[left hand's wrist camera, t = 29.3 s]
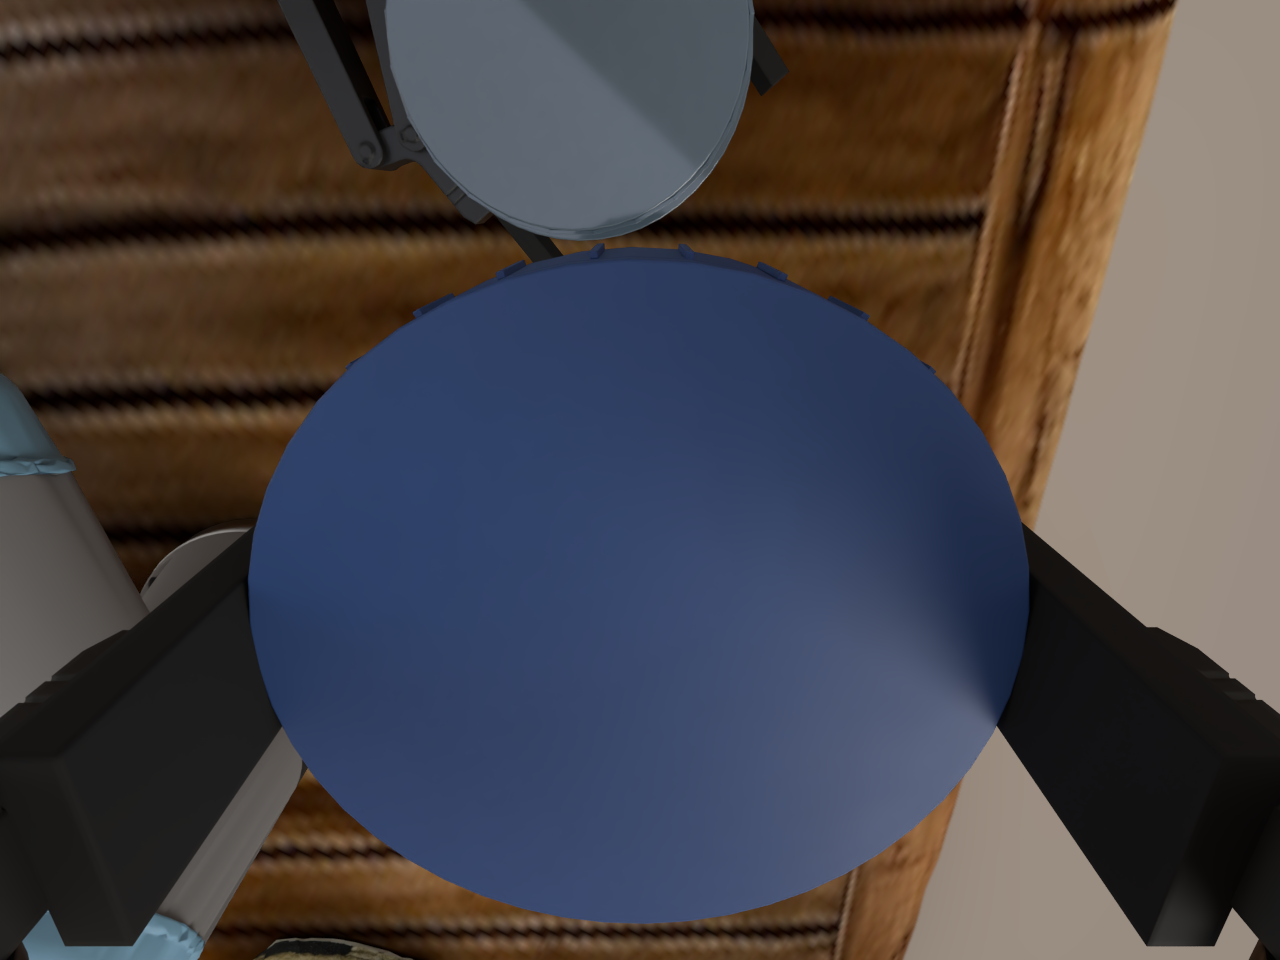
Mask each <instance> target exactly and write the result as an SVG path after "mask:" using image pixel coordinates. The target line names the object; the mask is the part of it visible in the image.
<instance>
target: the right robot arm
mask: <svg viewBox="0 0 1280 960" xmlns="http://www.w3.org/2000/svg"><path fill="white" fill-rule="evenodd" d="M277 1H278V3H279V5H280V7H281V9H282V11H283V13H284V15H285V18H286V20H287V22H288V24H289V26H290V28H291V30H292V32H293V34H294V36H295V38H296V40H297V42H298V44H299V46H300V49H301V51H302V53H303V55H304V57H305V59H306V61H307V63H308V65H309V67H310V69H311V71H312V73H313V75H314V77H315V80H316V82H317V84H318V86H319V88H320V90H321V92H322V94H323V96H324V98H325V100H326V102H327V104H328V106H329V108H330V110H331V113H332V115H333V117H334V119H335V121H336V123H337V125H338V127H339V129H340V131H341V133H342V135H343V137H344V139H345V141H346V144H347V146H348V148H349V150H350V152H351V154H352V156H353V158H354V159H355V161H356V162H357V163H358V164H359V165H360V166H362V167H364V168H368V169H376V170H386V171H393V170H397V169H398V168H399V167H400V166H402V165H405V164H408V163H410V162H414V161H415V162H417V163H419V164H420V165H421V166H422V167H423V168H424V170H425V171H426V172H427V173H428V174H429V176H430V177H431V178H432V179H433V180H434V182H435V183H436V184H437V185H438V187H439V188H440V189H441V190H442V191H443V193H444V194H445V195H446V196H447V197H448V199H449V200H450V201H451V202H452V204H454V206H455V207H456V208H457V210H458V211H459V212H460V213H461V214H462V216H463V217H464V218H466V219H468V220H469V221H471V222H473V223H475V224H481V223H484V222H485V221H486V220H488V219H489V218H490V217H491V216H492V215H493V213H491V212H490V211H489V210H487V209H486V208H484V207H483V206H481V205H480V204H479V203H477V202H476V201H474V200H473V199H471V198H469V197H468V196H467V195H466V194H465V193H464V192H463V191H462V190H461V189H460V188H459V187H458V186H457V185H456V184H455V183H454V182H453V181H452V180H451V179H450V178H449V177H448V176H447V175H446V174H445V173H444V171H443V170H442V169H441V168H440V167H439V166H438V165H437V164H436V163H435V162H434V160H433V159H432V157H431V156H430V154H429V152H428V151H427V149H426V147H425V146H424V144H423V143H422V141H421V139H420V138H419V136H418V134H417V133H416V131H415V130H414V128H413V126H412V125H411V123H410V121H409V120H408V118H407V114H406V111H405V108H404V105H403V102H402V100H401V97H400V94H399V91H398V88H397V85H396V82H395V79H394V76H393V73H392V70H391V68H390V56H389V48H388V40H387V30H386V21H385V12H384V9H385V6H386V0H366V5H367V9H368V13H369V18H370V22H371V26H372V31H373V35H374V39H375V44H376V48H377V52H378V57H379V61H380V65H381V70H382V74H383V78H384V83H385V87H386V92H387V96H388V100H389V105H390V109H391V113H392V118H393V122H394V125H392V126H391V125H390V123H389V121H388V119H387V116H386V114H385V112H384V110H383V108H382V106H381V103H380V101H379V99H378V97H377V95H376V93H375V90H374V88H373V86H372V84H371V82H370V79H369V77H368V75H367V73H366V71H365V69H364V66H363V64H362V62H361V60H360V58H359V55H358V53H357V51H356V49H355V47H354V45H353V42H352V40H351V38H350V36H349V34H348V31H347V29H346V27H345V25H344V23H343V21H342V18H341V16H340V14H339V12H338V10H337V8H336V5H335V3H334V1H333V0H277ZM788 72H789V71H788V69H787V67H786V66H785V64H784V62H783V61H782V59H781V58H780V56H779V54H778V53H777V51H776V50H775V48H774V46H773V45H772V43H771V41H770V40H769V38H768V37H767V35H766V33H765V32H764V30H763V29H762V27H761V25H760V24H759V22H758V21H757V19H756V17H755V16H754V21H753V59H752V68H751V76H750V79H751V81H752V82H753V84H754V86H755V87H756V89H757V90H758V92H759V93H760V95H761V96H762V95H763V94H764V93H766V92H767V91H768V90H769V89H770V88H771V87H773V86H774V85H775V84H776V83H777V82H778V81H779V80H780V79H782V78H783V77H784V76H785V75H786V74H787V73H788ZM495 216H496V215H495ZM496 217H497V216H496ZM497 218H498V220H499V221H500V222H501V223H502V225H503V226H504V227H505V228H506V229H507V231H508V232H509V233H510V234H511V236H512V237H513V238H514V239H515V241H516V242H517V243H518V244H519V246H520V247H521V248H522V249H523V251H524V252H525V253H526V254H527V255H528V257H529V258H530V259H531V260H532V262H533V263H534V262H539V261H543V260H547V259H552V258H556V257H560V256H563V255H562V253H561V252H560V251H559V250H558V248H557V247H556V246H555V245H554V243H553V242H552V241H551V239H550V238H549V237H547V236H542V235H538V234H535V233H532V232H530V231H527V230H524V229H521V228H519V227H516V226H514V225H512V224H511V223H509V222H507V221H505V220H503V219H501V218H499V217H497Z"/></svg>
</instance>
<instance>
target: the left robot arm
mask: <svg viewBox="0 0 1280 960" xmlns="http://www.w3.org/2000/svg"><path fill="white" fill-rule="evenodd" d="M75 470H76V467H75V464H74V462H73V461H72V459H70V458H67V457H65V456H62V455H61V453H60V452H59V450H58V449H57V447H56V446H55V444H54V443H53V441H52V439H51V438H50V436H49V435H48V433H47V432H46V430H45V429H44V427H43V425H42V424H41V422H40V421H39V419H38V418H37V416H36V414H35V413H34V411H33V410H32V408H31V407H30V405H29V403H28V402H27V400H26V399H25V397H24V395H23V394H22V392H21V391H20V390H19V389H18V388H17V386H16V385H15V384H14V383H13V382H12V381H11V380H10V379H8V378H7V377H6V376H4V375H3V374H1V373H0V960H197V959H198V958H199V956H200V954H201V952H202V951H203V947H204V945H205V944H206V942H207V940H208V938H209V937H210V935H211V933H212V931H213V930H214V928H215V926H216V925H217V923H218V921H219V919H220V918H221V916H222V914H223V912H224V911H225V909H226V907H227V906H228V904H229V902H230V900H231V899H232V897H233V895H234V893H235V892H236V890H237V888H238V887H239V885H240V883H241V881H242V880H243V878H244V876H245V874H246V873H247V871H248V869H249V868H250V866H251V864H252V862H253V861H254V859H255V857H256V855H257V854H258V852H259V850H260V849H261V847H262V845H263V843H264V842H265V840H266V838H267V836H268V835H269V833H270V831H271V830H272V828H273V826H274V824H275V823H276V821H277V819H278V817H279V816H280V814H281V812H282V811H283V809H284V807H285V805H286V804H287V802H288V800H289V798H290V797H291V795H292V793H293V792H294V790H295V788H296V786H297V785H298V783H299V782H300V780H301V778H302V777H303V775H304V773H305V772H306V770H307V768H308V767H307V765H306V764H305V763H304V761H303V760H302V758H301V757H300V755H299V754H298V753H297V751H296V750H295V748H294V747H293V745H292V744H291V742H290V740H289V738H288V736H287V734H286V733H285V731H284V729H283V727H282V725H281V723H280V721H279V719H278V717H277V715H276V713H275V711H274V709H273V708H272V705H271V702H270V700H269V697H268V694H267V691H266V688H265V685H264V681H263V677H262V674H261V670H260V666H259V662H258V658H257V654H256V649H255V645H254V641H253V637H252V632H251V628H250V622H249V595H248V575H249V567H250V559H251V551H252V542H253V534H254V531H255V527H256V524H257V520H258V518H249V519H239V520H233V521H228V522H223V523H220V524H217V525H214V526H211V527H209V528H207V529H204V530H202V531H201V532H199V533H197V534H195V535H194V536H192V537H191V538H190V539H188V540H187V541H186V542H184V543H183V544H182V545H180V546H179V547H177V548H176V549H175V550H173V551H172V552H171V553H169V554H168V555H167V556H166V557H165V558H164V559H163V560H162V561H161V562H160V563H159V564H158V566H157V567H156V568H155V569H154V571H153V572H152V574H151V575H150V577H149V578H148V580H147V582H146V584H145V585H144V587H143V589H142V591H141V593H140V594H139V592H138V591H137V589H136V587H135V585H134V583H133V582H132V580H131V578H130V576H129V574H128V573H127V571H126V569H125V567H124V565H123V564H122V562H121V560H120V558H119V556H118V555H117V553H116V551H115V549H114V547H113V546H112V544H111V542H110V540H109V539H108V537H107V535H106V533H105V531H104V530H103V528H102V526H101V524H100V522H99V521H98V519H97V517H96V515H95V513H94V512H93V510H92V508H91V506H90V504H89V503H88V501H87V499H86V497H85V495H84V494H83V492H82V490H81V488H80V487H79V485H78V483H77V481H76V479H75V478H74V476H73V474H72V472H71V471H75ZM1021 523H1022V522H1021ZM1022 529H1023V535H1024V541H1025V547H1026V553H1027V558H1028V564H1029V617H1028V624H1027V631H1026V638H1025V645H1024V651H1023V655H1022V659H1021V663H1020V666H1019V669H1018V673H1017V676H1016V679H1015V683H1014V686H1013V689H1012V692H1011V695H1010V698H1009V700H1008V702H1007V704H1006V706H1005V708H1004V710H1003V713H1002V715H1001V717H1000V719H999V721H998V723H997V727H998V728H999V730H1000V731H1001V733H1002V734H1003V736H1004V737H1005V739H1006V740H1007V742H1008V743H1009V744H1010V746H1011V747H1012V749H1013V750H1014V752H1015V753H1016V755H1017V756H1018V758H1019V759H1020V761H1021V762H1022V764H1023V765H1024V767H1025V768H1026V769H1027V771H1028V772H1029V774H1030V775H1031V777H1032V778H1033V780H1034V781H1035V783H1036V784H1037V786H1038V787H1039V789H1040V790H1041V792H1042V793H1043V794H1044V796H1045V797H1046V799H1047V800H1048V802H1049V803H1050V805H1051V806H1052V808H1053V809H1054V811H1055V812H1056V813H1057V815H1058V817H1059V818H1060V819H1061V821H1062V822H1063V824H1064V825H1065V827H1066V828H1067V830H1068V831H1069V833H1070V834H1071V836H1072V837H1073V839H1074V840H1075V841H1076V843H1077V844H1078V846H1079V847H1080V849H1081V850H1082V852H1083V853H1084V855H1085V856H1086V858H1087V859H1088V861H1089V862H1090V864H1091V865H1092V866H1093V868H1094V869H1095V871H1096V872H1097V874H1098V875H1099V877H1100V878H1101V880H1102V881H1103V883H1104V884H1105V885H1106V887H1107V889H1108V890H1109V891H1110V893H1111V894H1112V896H1113V897H1114V899H1115V900H1116V902H1117V903H1118V905H1119V906H1120V908H1121V909H1122V911H1123V912H1124V914H1125V915H1126V916H1127V918H1128V919H1129V921H1130V922H1131V924H1132V925H1133V927H1134V928H1135V930H1136V931H1137V933H1138V934H1139V936H1140V937H1141V938H1142V940H1143V941H1144V943H1145V944H1146V946H1215V944H1216V942H1217V939H1218V937H1219V935H1220V933H1221V931H1222V929H1223V926H1224V924H1225V922H1226V920H1227V918H1228V916H1229V913H1230V911H1231V909H1232V908H1233V909H1234V910H1235V911H1236V912H1237V913H1238V915H1239V916H1240V917H1241V918H1242V919H1243V921H1244V922H1245V923H1246V924H1247V925H1248V927H1249V928H1250V929H1251V930H1252V931H1253V933H1254V934H1255V935H1256V936H1257V937H1258V939H1259V940H1258V942H1257V944H1256V946H1255V948H1254V950H1253V952H1252V954H1251V956H1250V958H1249V960H1280V714H1279V713H1278V712H1276V711H1275V710H1274V709H1273V708H1271V707H1270V706H1269V705H1268V704H1266V703H1265V702H1264V701H1263V700H1256V698H1255V694H1254V693H1253V692H1251V691H1250V690H1249V689H1248V688H1246V687H1245V686H1244V685H1243V684H1241V683H1240V682H1239V681H1238V680H1236V679H1232V678H1229V673H1228V672H1226V671H1225V670H1224V669H1223V668H1221V667H1220V666H1219V665H1218V664H1216V663H1215V662H1214V661H1213V660H1211V659H1210V658H1209V657H1208V656H1206V655H1205V654H1204V653H1203V652H1201V651H1200V650H1199V649H1198V648H1196V647H1194V646H1192V645H1190V644H1188V643H1186V642H1184V641H1182V640H1180V639H1179V638H1177V637H1175V636H1173V635H1171V634H1169V633H1167V632H1165V631H1163V630H1161V629H1159V628H1157V627H1146V626H1144V625H1143V624H1142V623H1141V622H1140V621H1139V620H1137V619H1136V618H1135V617H1134V616H1133V615H1131V614H1130V613H1129V612H1128V611H1127V610H1126V609H1124V608H1123V607H1122V606H1121V605H1120V604H1118V603H1117V602H1116V601H1115V600H1114V599H1112V598H1111V597H1110V596H1109V595H1108V594H1106V593H1105V592H1104V591H1103V590H1102V589H1101V588H1099V587H1098V586H1097V585H1096V584H1095V583H1093V582H1092V581H1091V580H1090V579H1089V578H1087V577H1086V576H1085V575H1084V574H1083V573H1081V572H1080V571H1079V570H1078V569H1077V568H1075V567H1074V566H1073V565H1072V564H1071V563H1070V562H1068V561H1067V560H1066V559H1065V558H1064V557H1062V556H1061V555H1060V554H1059V553H1058V552H1056V551H1055V550H1054V549H1053V548H1052V547H1051V546H1049V545H1048V544H1047V543H1046V542H1045V541H1043V540H1042V539H1041V538H1040V537H1039V536H1037V535H1036V534H1035V533H1034V532H1033V531H1032V530H1030V529H1029V528H1028V527H1027V526H1026V525H1024V524H1023V523H1022Z"/></svg>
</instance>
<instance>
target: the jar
mask: <svg viewBox="0 0 1280 960" xmlns="http://www.w3.org/2000/svg"><path fill="white" fill-rule="evenodd" d="M384 12H385V21H386V30H387V40H388V48H389V56H390V68H391V70H392V73H393V76H394V79H395V82H396V85H397V88H398V91H399V94H400V97H401V100H402V102H403V105H404V108H405V111H406V114H407V118H408V120H409V121H410V123H411V125H412V126H413V128H414V130H415V131H416V133H417V134H418V136H419V138H420V139H421V141H422V143H423V144H424V146H425V147H426V149H427V151H428V152H429V154H430V156H431V157H432V159H433V160H434V162H435V163H436V164H437V165H438V166H439V167H440V168H441V169H442V170H443V171H444V173H445V174H446V175H447V176H448V177H449V178H450V179H451V180H452V181H453V182H454V183H455V184H456V185H457V186H458V187H459V188H460V189H461V190H462V191H463V192H464V193H465V194H466V195H467V196H468V197H469V198H471V199H473V200H474V201H476V202H477V203H479V204H480V205H481V206H483V207H484V208H486V209H487V210H489V211H490V212H491V213H493V214H494V215H496V216H497V217H499V218H501V219H503V220H505V221H507V222H509V223H511V224H512V225H514V226H516V227H519V228H521V229H524V230H527V231H530V232H532V233H535V234H538V235H542V236H547V237H551V238H556V239H564V240H576V241H584V240H601V239H606V238H611V237H616V236H621V235H624V234H627V233H630V232H633V231H635V230H638V229H641V228H643V227H645V226H647V225H649V224H651V223H653V222H655V221H657V220H659V219H661V218H662V217H664V216H665V215H667V214H668V213H670V212H671V211H672V210H674V209H675V208H677V207H678V206H679V205H681V204H682V203H683V202H684V201H685V200H686V199H687V198H688V197H689V196H690V195H692V194H693V193H694V192H695V191H696V190H697V189H698V188H699V186H700V185H701V184H702V183H703V182H704V180H705V179H706V178H707V177H708V176H709V175H710V173H711V172H712V171H713V169H714V168H715V166H716V165H717V163H718V162H719V160H720V158H721V157H722V155H723V154H724V152H725V150H726V148H727V146H728V144H729V142H730V140H731V138H732V136H733V134H734V132H735V130H736V127H737V124H738V122H739V119H740V116H741V113H742V111H743V108H744V104H745V100H746V96H747V91H748V87H749V83H750V76H751V68H752V59H753V21H754V8H753V2H752V0H386V6H385V9H384Z"/></svg>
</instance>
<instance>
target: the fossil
mask: <svg viewBox="0 0 1280 960" xmlns="http://www.w3.org/2000/svg"><path fill="white" fill-rule="evenodd" d="M254 960H413V959H411V958H402V957H400V956H398V955H396V954H394V953H392V952H389V951H386V950H382V949H379V948H375V947H371V946H367V945H364V944H360V943H356V942H350V941H345V940H339V939H326V938H309V939H300V938H290V939H281V940H276V941H275V942H274V943H273V944H272V945H270V946H269V947H268V948H267V949H266V950H265V951H263V952H262V953H260V954H259V955H258V956H257V957H256V958H255V959H254Z"/></svg>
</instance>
